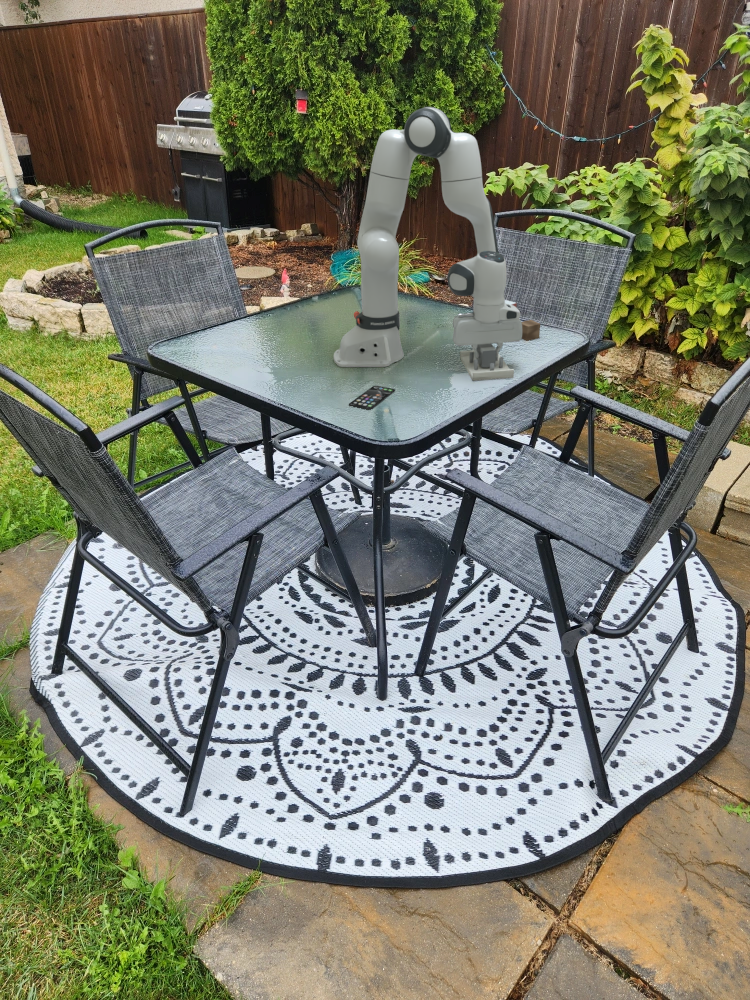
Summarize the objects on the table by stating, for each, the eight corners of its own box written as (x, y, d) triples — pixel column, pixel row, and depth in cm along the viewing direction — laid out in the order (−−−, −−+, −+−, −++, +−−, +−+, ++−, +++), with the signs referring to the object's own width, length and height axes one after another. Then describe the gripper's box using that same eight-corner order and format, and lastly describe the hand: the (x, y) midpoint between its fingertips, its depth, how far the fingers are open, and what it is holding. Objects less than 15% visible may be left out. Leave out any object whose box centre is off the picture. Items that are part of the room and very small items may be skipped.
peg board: (472, 380, 194) (473, 367, 192) (460, 358, 209) (460, 346, 207) (513, 377, 195) (514, 364, 193) (497, 355, 210) (498, 343, 208)
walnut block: (526, 341, 220) (528, 326, 217) (517, 337, 224) (518, 322, 221) (539, 338, 221) (540, 323, 219) (529, 334, 225) (531, 319, 223)
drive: (481, 367, 198) (482, 351, 195) (475, 357, 205) (476, 341, 202) (495, 366, 198) (496, 350, 196) (488, 356, 205) (489, 340, 202)
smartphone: (396, 389, 191) (370, 409, 180) (396, 391, 191) (370, 411, 180) (374, 385, 194) (347, 404, 183) (374, 387, 194) (347, 406, 184)
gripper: (455, 317, 189) (454, 363, 197) (525, 312, 191) (522, 358, 198) (451, 310, 195) (449, 355, 202) (519, 305, 196) (516, 350, 203)
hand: (486, 357), depth 200 cm, fingers open, 4 cm apart
